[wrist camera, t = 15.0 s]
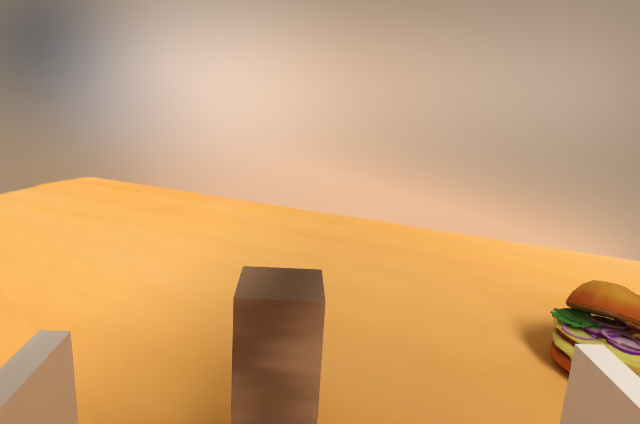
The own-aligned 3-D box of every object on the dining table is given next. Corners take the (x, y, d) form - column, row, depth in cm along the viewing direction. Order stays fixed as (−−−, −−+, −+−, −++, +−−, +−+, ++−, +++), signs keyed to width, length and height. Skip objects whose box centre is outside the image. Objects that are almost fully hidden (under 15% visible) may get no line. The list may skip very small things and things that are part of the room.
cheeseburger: (525, 366, 52) (549, 269, 51) (559, 355, 60) (580, 271, 59) (640, 412, 45) (669, 301, 45) (661, 393, 53) (685, 298, 53)
